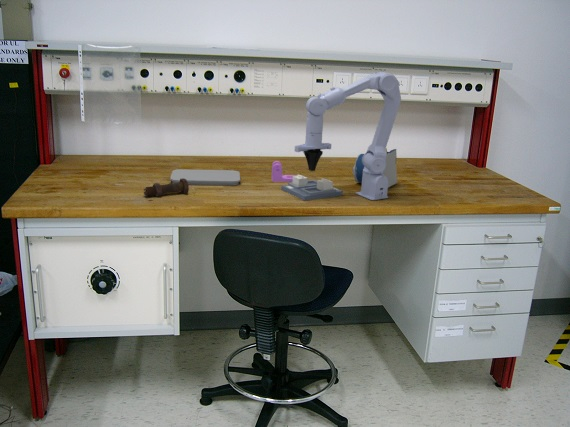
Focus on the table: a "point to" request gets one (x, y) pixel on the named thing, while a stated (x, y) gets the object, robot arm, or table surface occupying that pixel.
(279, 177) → the bracket
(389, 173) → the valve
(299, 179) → the far tab
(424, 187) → the table surface
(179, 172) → the tablet
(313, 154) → the robot arm
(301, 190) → the switch bank
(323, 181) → the near tab
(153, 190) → the bolt
